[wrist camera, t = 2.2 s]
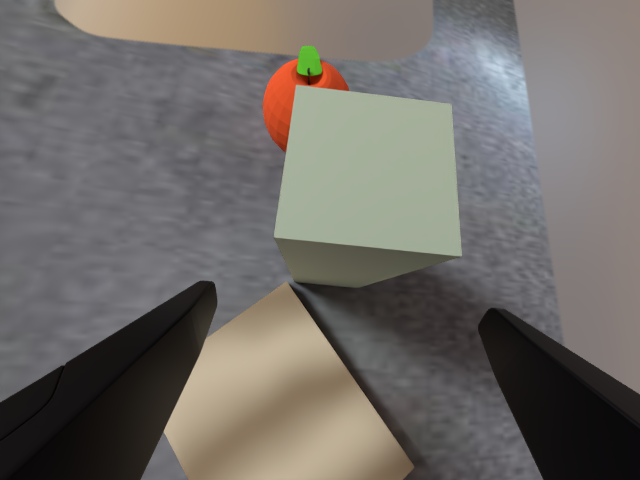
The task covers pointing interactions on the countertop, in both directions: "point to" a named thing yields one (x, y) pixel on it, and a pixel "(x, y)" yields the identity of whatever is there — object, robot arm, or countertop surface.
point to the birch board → (278, 405)
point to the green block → (366, 188)
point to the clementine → (283, 90)
